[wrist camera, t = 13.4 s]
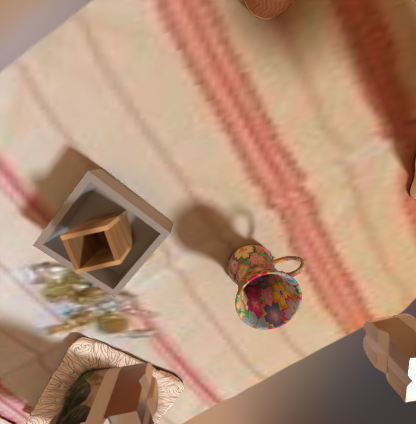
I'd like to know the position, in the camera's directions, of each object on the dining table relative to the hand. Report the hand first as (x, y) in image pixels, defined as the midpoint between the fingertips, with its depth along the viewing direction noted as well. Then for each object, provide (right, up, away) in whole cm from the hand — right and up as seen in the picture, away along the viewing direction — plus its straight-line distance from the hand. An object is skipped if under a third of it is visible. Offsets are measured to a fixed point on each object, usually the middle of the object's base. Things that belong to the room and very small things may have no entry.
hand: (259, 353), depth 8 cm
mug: (+7, -3, +32) cm, 33 cm away
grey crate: (-18, +3, +28) cm, 34 cm away
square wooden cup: (-17, +2, +27) cm, 33 cm away
